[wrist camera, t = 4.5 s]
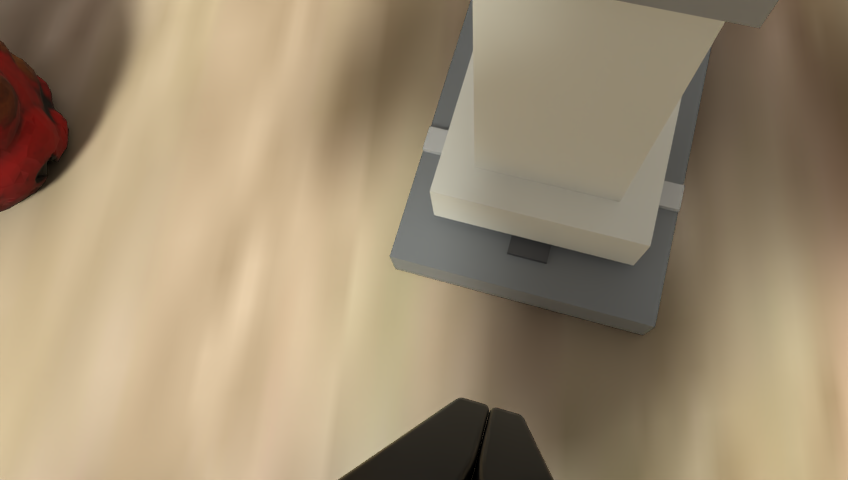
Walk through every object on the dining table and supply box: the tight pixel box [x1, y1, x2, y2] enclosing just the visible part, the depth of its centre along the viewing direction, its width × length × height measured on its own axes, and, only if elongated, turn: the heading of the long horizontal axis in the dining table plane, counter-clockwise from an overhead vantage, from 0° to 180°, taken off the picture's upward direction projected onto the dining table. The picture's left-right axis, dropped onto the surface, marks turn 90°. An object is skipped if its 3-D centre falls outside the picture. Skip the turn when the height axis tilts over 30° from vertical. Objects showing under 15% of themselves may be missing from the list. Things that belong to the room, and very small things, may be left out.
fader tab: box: [430, 0, 778, 266], centre depth 15 cm, size 5×6×12 cm
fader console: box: [390, 0, 712, 335], centre depth 23 cm, size 18×8×2 cm, turn 164°
